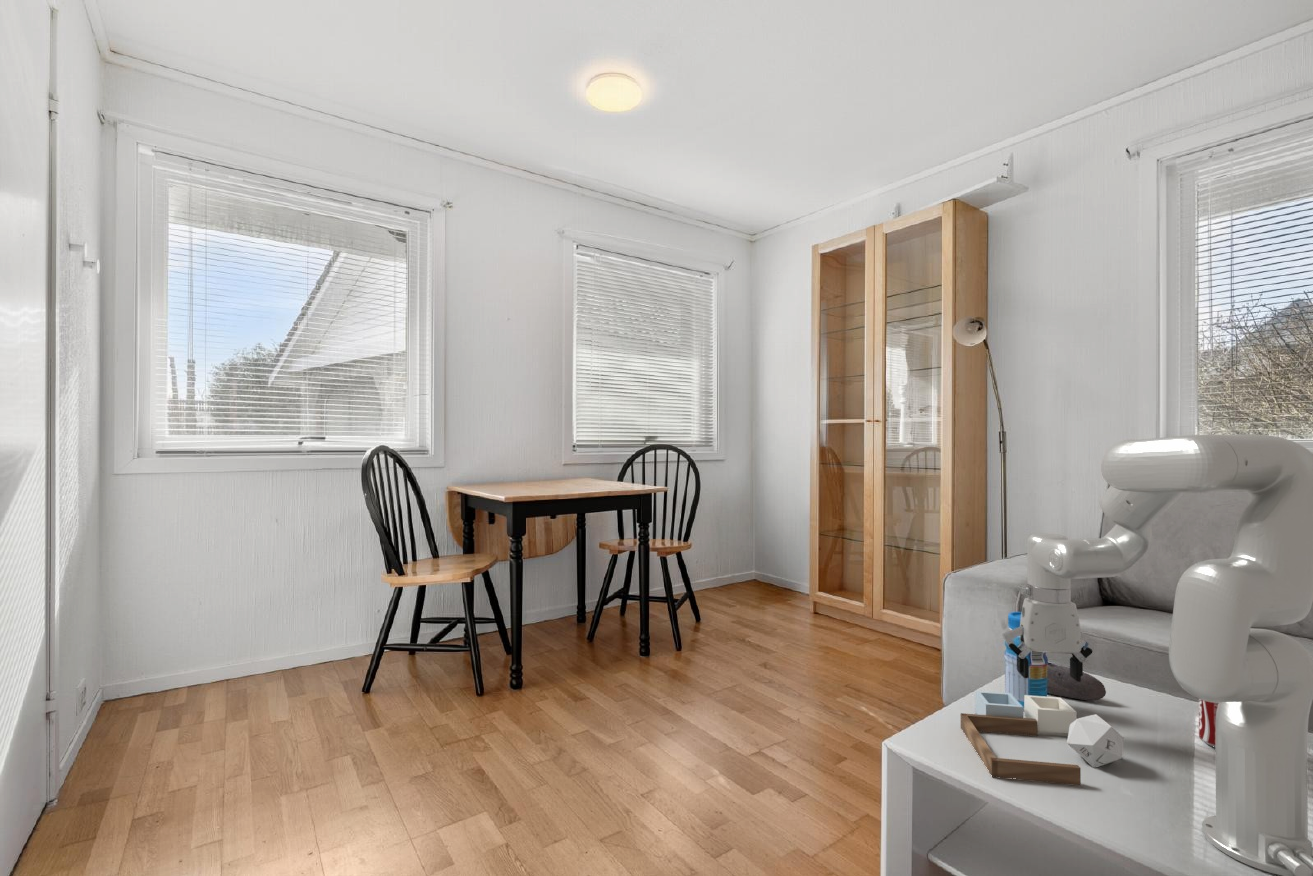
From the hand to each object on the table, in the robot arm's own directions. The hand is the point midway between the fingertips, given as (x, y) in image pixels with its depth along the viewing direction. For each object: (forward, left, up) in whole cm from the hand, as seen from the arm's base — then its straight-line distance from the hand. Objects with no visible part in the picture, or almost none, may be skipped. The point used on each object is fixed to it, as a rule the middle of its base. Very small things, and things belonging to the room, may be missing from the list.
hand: (1049, 677), depth 127 cm
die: (-13, -2, -10) cm, 17 cm away
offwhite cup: (0, 0, -10) cm, 10 cm away
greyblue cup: (0, +10, -10) cm, 14 cm away
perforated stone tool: (+18, -10, -11) cm, 23 cm away
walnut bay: (-13, +11, -10) cm, 20 cm away
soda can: (-2, -29, -10) cm, 31 cm away
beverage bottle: (+11, +1, -10) cm, 15 cm away
